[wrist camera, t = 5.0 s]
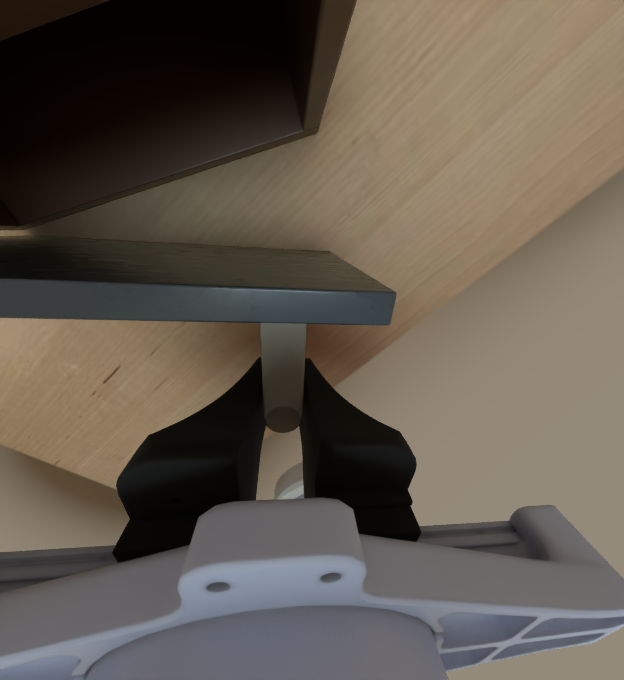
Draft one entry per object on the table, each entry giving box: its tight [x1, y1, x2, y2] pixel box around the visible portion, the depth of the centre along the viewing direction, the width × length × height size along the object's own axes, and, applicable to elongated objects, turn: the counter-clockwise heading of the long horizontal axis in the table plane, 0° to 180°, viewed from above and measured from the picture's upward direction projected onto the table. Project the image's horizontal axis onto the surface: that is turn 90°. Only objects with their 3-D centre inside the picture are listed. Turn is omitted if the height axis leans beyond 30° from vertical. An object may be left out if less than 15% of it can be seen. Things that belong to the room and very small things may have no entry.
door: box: [0, 235, 396, 433], centre depth 10 cm, size 6×16×9 cm, turn 87°
